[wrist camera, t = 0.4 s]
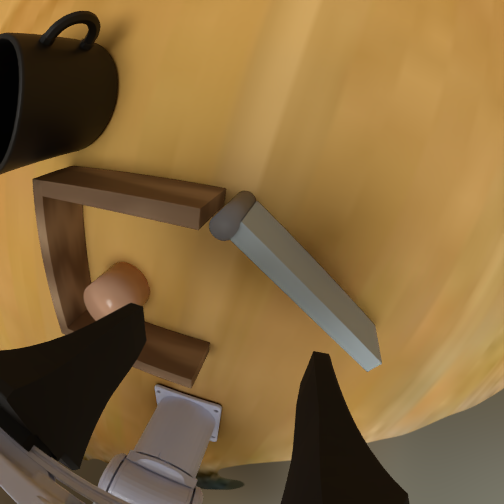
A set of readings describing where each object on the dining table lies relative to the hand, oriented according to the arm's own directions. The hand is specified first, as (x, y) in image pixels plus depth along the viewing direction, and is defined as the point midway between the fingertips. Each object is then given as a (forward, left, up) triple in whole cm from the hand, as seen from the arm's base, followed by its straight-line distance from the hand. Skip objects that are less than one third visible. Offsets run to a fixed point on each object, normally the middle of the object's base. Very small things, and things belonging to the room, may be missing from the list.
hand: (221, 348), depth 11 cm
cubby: (-4, +10, -10) cm, 15 cm away
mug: (+11, +16, -10) cm, 22 cm away
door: (-1, -3, -10) cm, 11 cm away
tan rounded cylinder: (-6, +11, -10) cm, 16 cm away
